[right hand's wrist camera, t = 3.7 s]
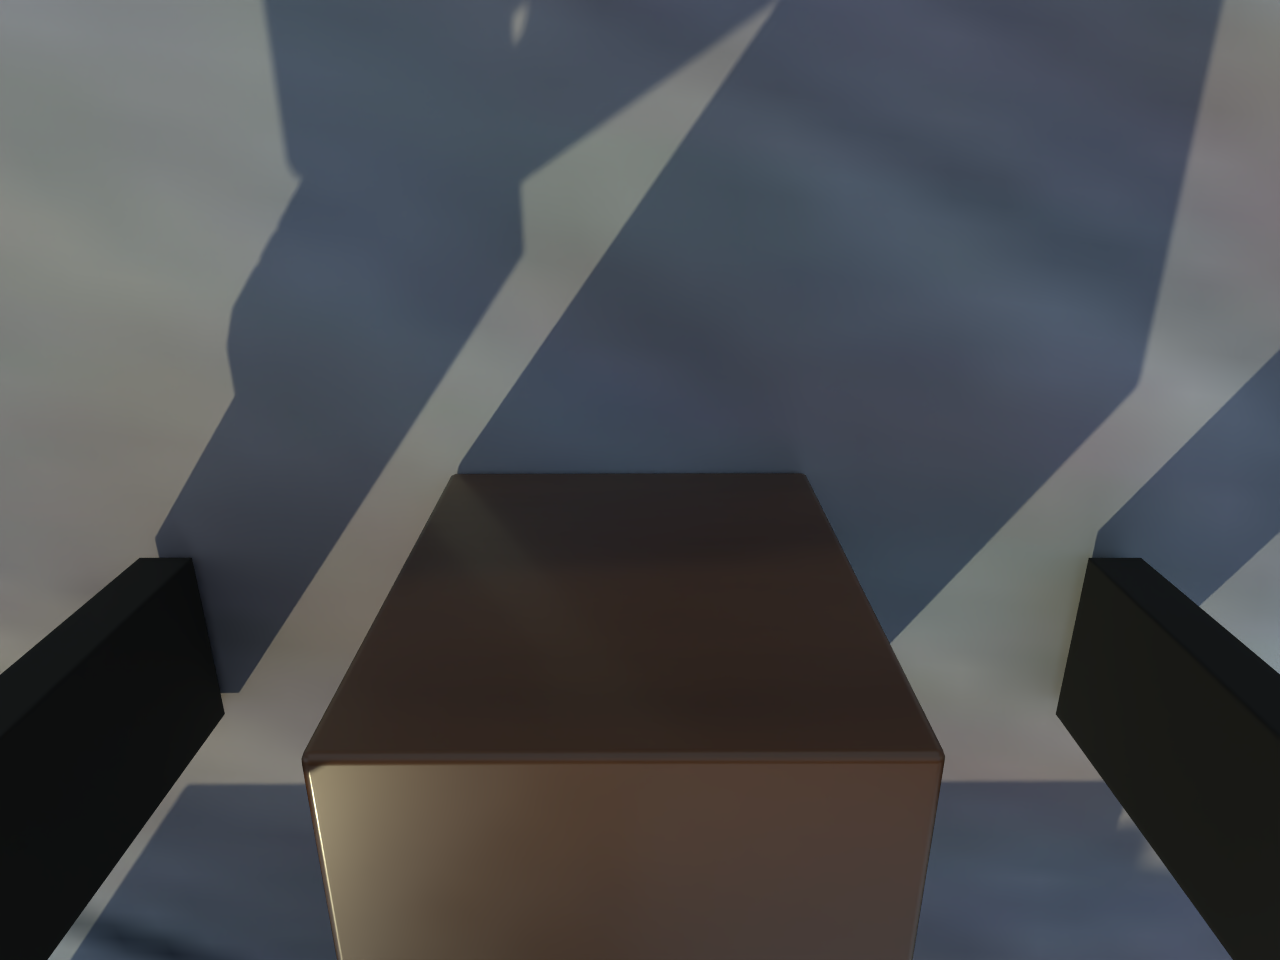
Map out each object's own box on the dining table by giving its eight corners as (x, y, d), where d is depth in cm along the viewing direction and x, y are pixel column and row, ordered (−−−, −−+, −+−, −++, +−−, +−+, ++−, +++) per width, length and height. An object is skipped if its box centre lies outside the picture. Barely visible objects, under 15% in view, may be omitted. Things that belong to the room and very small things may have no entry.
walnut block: (450, 471, 12) (296, 756, 7) (806, 471, 12) (949, 755, 7) (476, 759, 14) (371, 1171, 8) (784, 758, 14) (883, 1169, 8)
